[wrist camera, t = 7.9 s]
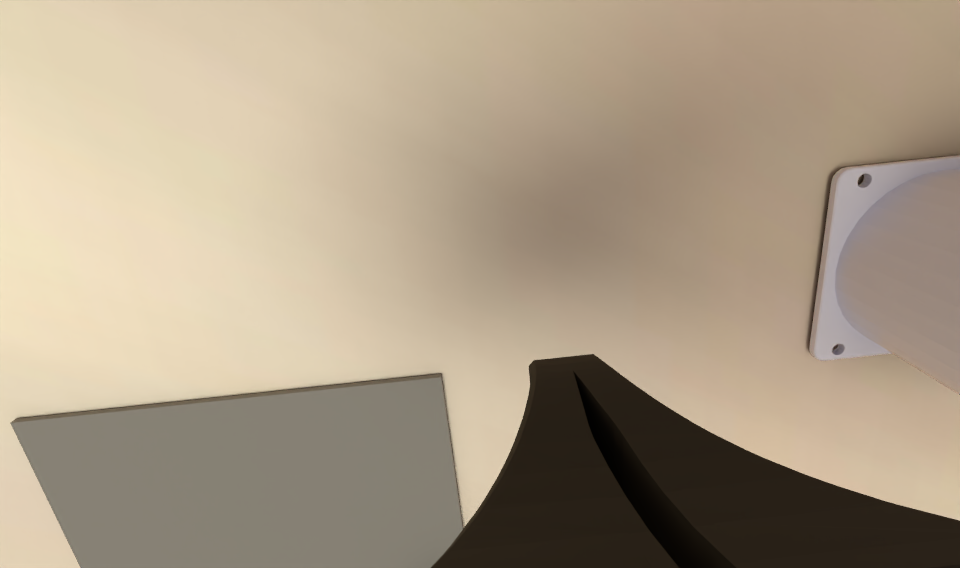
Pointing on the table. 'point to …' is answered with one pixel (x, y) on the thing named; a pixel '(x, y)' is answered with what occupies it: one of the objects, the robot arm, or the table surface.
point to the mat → (255, 479)
